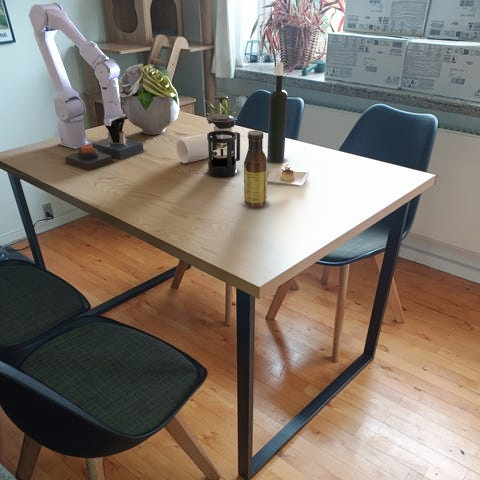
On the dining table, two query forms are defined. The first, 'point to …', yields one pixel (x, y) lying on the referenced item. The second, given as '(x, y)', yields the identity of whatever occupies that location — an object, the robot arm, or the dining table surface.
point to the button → (87, 148)
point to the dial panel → (119, 148)
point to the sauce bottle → (255, 171)
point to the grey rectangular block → (122, 138)
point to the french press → (222, 158)
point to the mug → (192, 148)
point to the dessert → (287, 176)
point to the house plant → (224, 111)
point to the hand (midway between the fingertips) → (117, 141)
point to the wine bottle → (277, 119)
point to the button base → (88, 159)
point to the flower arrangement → (148, 98)
